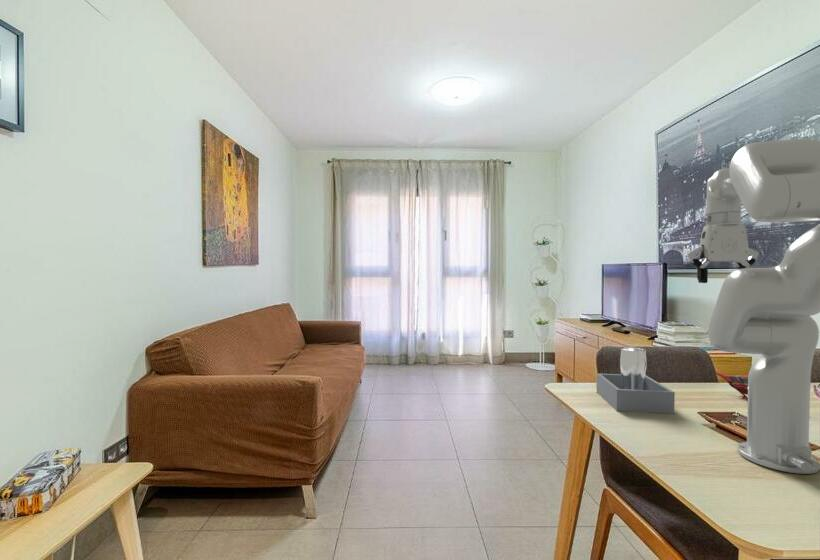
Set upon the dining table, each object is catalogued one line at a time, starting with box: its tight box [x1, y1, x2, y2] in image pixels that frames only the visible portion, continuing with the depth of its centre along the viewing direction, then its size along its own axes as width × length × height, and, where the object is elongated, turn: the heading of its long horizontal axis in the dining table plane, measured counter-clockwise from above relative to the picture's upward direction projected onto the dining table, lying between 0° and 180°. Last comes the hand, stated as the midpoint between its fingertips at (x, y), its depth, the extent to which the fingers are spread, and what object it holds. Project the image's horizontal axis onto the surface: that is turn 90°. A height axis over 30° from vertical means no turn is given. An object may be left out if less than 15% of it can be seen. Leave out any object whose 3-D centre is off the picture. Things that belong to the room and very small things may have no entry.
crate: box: [596, 373, 676, 414], centre depth 120 cm, size 18×15×6 cm
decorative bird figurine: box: [713, 370, 749, 401], centre depth 124 cm, size 3×18×10 cm, turn 14°
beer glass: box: [619, 346, 647, 390], centre depth 120 cm, size 7×7×15 cm
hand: (722, 282), depth 110 cm, fingers open, 9 cm apart
